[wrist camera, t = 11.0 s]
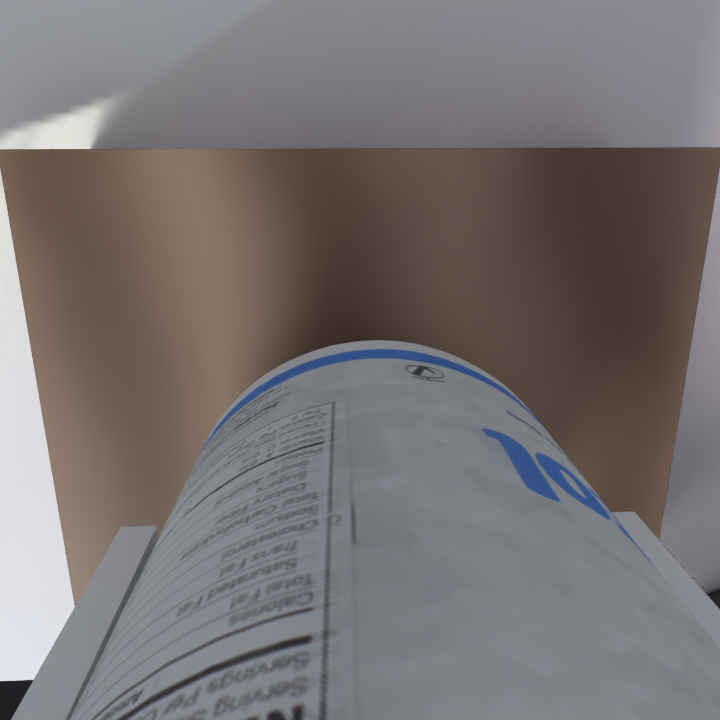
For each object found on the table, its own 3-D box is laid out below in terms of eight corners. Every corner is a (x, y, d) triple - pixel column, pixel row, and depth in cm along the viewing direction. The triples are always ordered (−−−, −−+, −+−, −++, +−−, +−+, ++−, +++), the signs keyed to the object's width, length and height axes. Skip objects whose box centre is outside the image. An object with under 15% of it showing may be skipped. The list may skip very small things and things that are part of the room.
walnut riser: (618, 151, 22) (722, 147, 16) (567, 589, 27) (632, 704, 21) (88, 153, 21) (-4, 149, 15) (146, 604, 26) (95, 727, 20)
